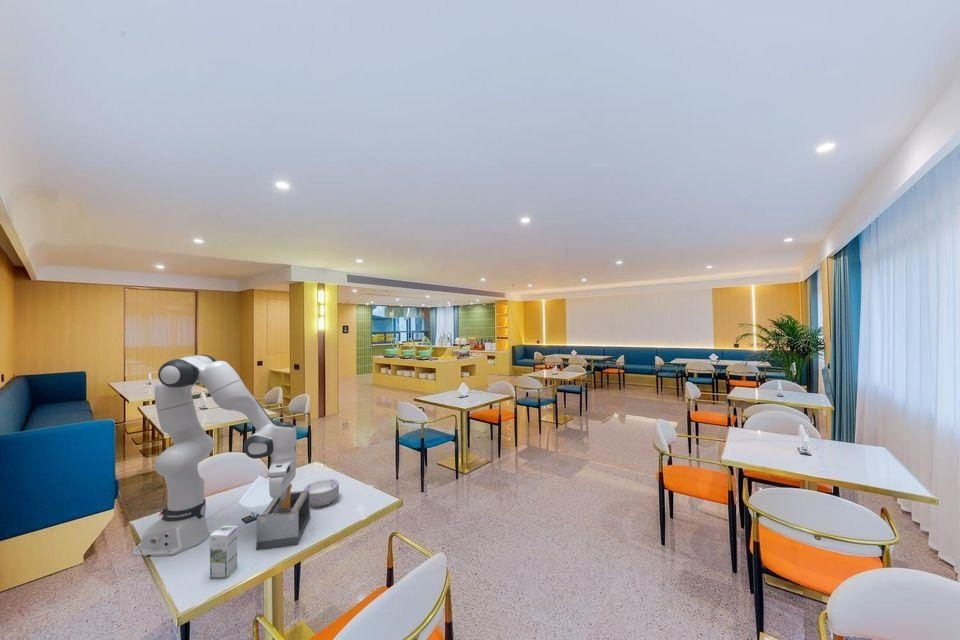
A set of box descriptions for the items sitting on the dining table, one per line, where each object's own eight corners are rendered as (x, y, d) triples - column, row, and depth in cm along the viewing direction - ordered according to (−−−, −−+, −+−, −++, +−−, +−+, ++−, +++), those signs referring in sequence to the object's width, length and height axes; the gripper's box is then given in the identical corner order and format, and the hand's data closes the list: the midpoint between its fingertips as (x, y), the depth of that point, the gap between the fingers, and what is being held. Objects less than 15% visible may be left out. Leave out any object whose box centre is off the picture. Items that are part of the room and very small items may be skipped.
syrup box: (238, 566, 124) (238, 524, 124) (226, 578, 118) (227, 534, 118) (221, 567, 124) (221, 524, 124) (208, 579, 118) (209, 534, 118)
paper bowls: (299, 501, 170) (299, 484, 170) (332, 491, 180) (332, 475, 180) (309, 514, 159) (309, 496, 159) (343, 502, 169) (343, 485, 169)
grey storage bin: (297, 545, 136) (297, 513, 136) (256, 550, 133) (256, 517, 133) (309, 517, 156) (310, 490, 156) (274, 521, 152) (274, 493, 153)
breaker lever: (290, 512, 144) (291, 485, 145) (278, 514, 143) (279, 486, 144) (292, 510, 146) (293, 483, 147) (280, 512, 145) (281, 484, 146)
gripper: (283, 455, 152) (283, 487, 152) (265, 474, 132) (265, 512, 132) (299, 453, 154) (299, 486, 153) (284, 472, 134) (284, 510, 133)
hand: (283, 498), depth 143 cm, fingers closed
